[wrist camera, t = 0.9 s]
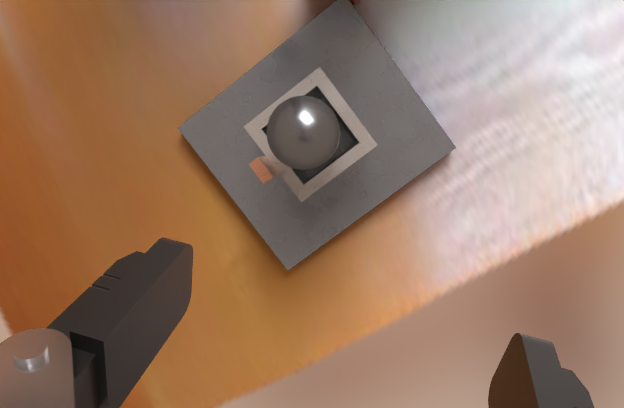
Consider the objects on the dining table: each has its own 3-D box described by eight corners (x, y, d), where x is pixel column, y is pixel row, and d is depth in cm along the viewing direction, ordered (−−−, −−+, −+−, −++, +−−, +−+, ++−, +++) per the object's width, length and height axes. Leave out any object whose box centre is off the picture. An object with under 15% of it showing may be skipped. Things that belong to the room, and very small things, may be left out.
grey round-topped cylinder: (280, 132, 36) (250, 125, 24) (319, 102, 36) (310, 78, 23) (310, 172, 36) (295, 185, 24) (349, 142, 36) (355, 140, 23)
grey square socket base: (183, 128, 38) (122, 121, 27) (344, 0, 36) (347, -63, 26) (289, 266, 39) (271, 312, 28) (451, 147, 37) (498, 148, 26)
